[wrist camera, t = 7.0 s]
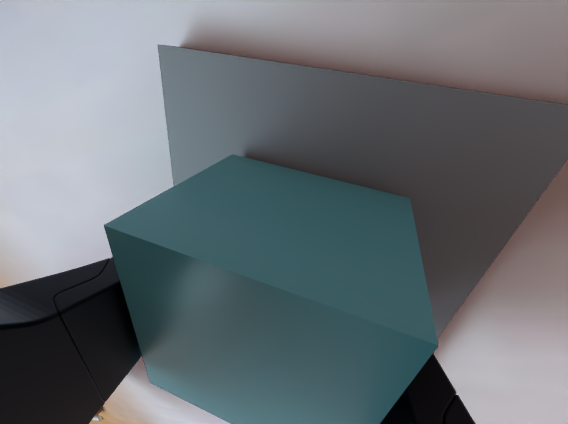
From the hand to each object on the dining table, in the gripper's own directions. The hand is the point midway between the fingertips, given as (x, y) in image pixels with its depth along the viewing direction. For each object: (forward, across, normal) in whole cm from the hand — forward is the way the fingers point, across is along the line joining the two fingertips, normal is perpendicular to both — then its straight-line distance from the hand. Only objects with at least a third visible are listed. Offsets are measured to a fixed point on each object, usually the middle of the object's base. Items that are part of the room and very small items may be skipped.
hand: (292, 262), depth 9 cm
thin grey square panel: (+2, 0, 0) cm, 2 cm away
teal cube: (+1, 0, 0) cm, 1 cm away
